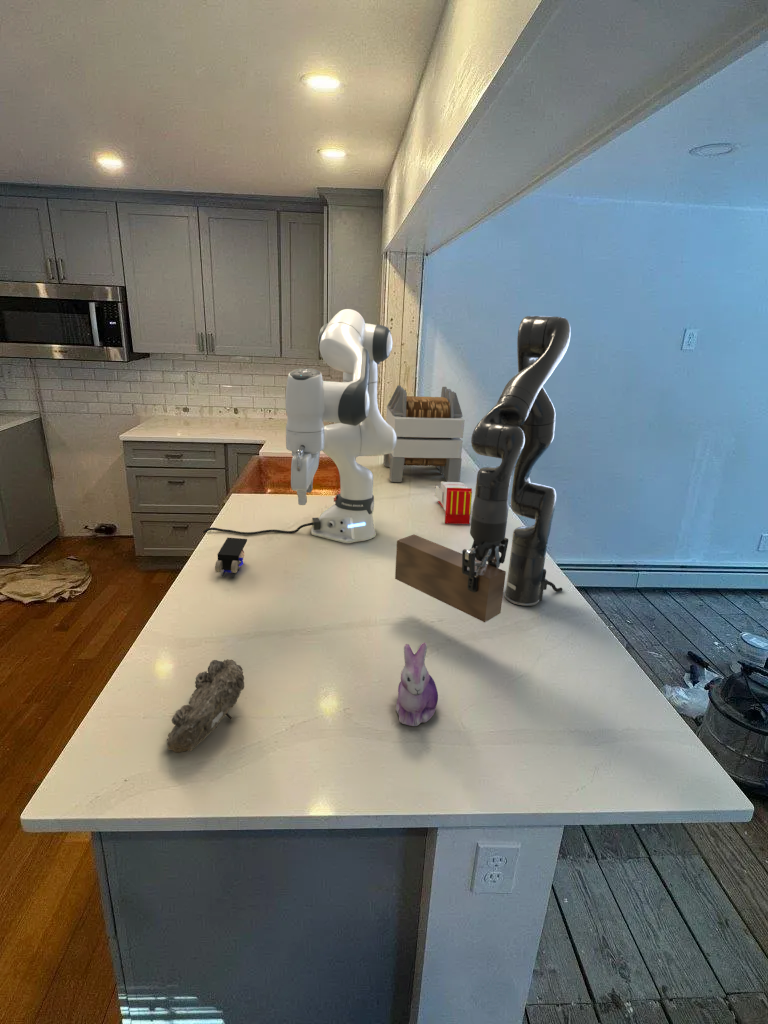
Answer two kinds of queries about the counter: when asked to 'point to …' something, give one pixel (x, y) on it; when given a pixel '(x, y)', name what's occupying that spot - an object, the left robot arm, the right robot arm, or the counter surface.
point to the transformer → (425, 433)
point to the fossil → (206, 705)
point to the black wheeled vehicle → (230, 556)
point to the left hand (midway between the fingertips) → (305, 497)
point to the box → (448, 577)
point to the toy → (455, 502)
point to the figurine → (416, 689)
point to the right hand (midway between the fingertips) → (481, 586)
